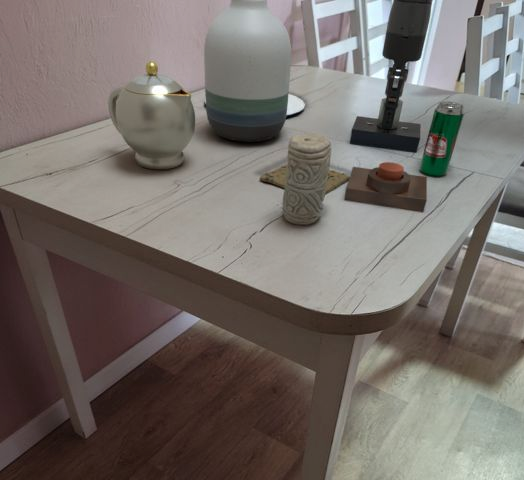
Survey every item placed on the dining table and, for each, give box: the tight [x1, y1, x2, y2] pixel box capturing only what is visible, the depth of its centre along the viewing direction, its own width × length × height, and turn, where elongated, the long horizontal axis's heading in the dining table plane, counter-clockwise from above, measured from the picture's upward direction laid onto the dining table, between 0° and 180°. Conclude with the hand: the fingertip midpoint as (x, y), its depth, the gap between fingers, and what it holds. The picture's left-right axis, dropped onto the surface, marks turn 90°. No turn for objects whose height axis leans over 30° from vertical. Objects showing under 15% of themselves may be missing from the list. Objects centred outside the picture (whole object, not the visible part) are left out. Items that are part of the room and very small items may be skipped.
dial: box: [377, 97, 404, 129], centre depth 102 cm, size 4×4×5 cm
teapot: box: [107, 61, 196, 171], centre depth 85 cm, size 18×14×16 cm
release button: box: [377, 161, 405, 181], centre depth 80 cm, size 4×4×2 cm
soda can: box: [419, 101, 465, 178], centre depth 89 cm, size 5×5×12 cm
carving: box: [282, 134, 332, 226], centre depth 72 cm, size 6×8×12 cm
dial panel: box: [349, 115, 422, 153], centre depth 105 cm, size 14×10×3 cm
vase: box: [203, 0, 292, 143], centre depth 97 cm, size 17×17×24 cm
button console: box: [344, 166, 428, 213], centre depth 83 cm, size 13×10×4 cm
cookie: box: [259, 163, 350, 195], centre depth 87 cm, size 12×12×1 cm
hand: (387, 123), depth 104 cm, fingers open, 5 cm apart
